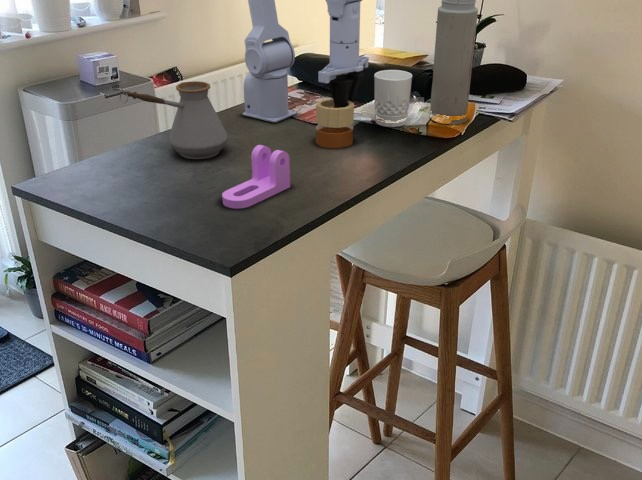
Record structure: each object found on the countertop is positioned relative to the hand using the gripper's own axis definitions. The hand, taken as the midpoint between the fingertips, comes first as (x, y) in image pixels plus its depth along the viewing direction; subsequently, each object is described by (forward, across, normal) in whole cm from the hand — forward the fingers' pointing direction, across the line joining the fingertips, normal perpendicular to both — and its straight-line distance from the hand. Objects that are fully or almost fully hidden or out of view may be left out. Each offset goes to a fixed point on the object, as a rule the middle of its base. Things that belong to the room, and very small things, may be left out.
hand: (343, 111), depth 152 cm
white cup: (+6, +14, -3) cm, 15 cm away
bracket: (+6, -33, -4) cm, 34 cm away
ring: (+1, -3, 0) cm, 3 cm away
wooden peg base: (+5, -3, 0) cm, 6 cm away
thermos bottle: (+6, +23, -12) cm, 26 cm away
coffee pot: (+6, -28, +19) cm, 34 cm away
